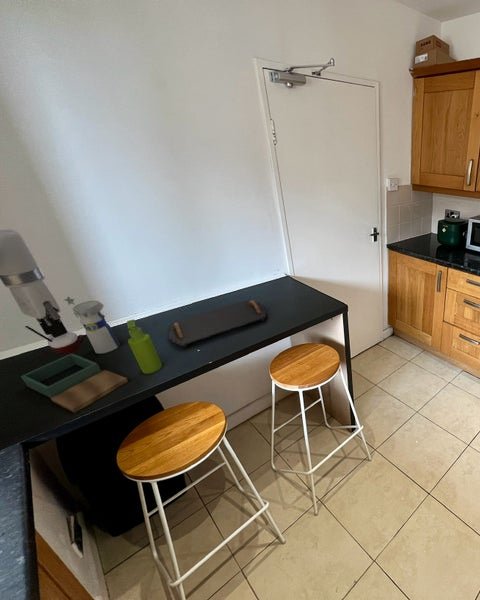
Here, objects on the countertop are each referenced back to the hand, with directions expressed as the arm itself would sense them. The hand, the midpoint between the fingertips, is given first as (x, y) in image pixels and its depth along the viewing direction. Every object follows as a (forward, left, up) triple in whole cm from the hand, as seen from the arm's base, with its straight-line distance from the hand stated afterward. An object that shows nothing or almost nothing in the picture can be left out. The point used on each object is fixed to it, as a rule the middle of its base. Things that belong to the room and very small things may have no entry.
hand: (56, 333), depth 93 cm
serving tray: (+46, -5, -23) cm, 52 cm away
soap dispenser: (+15, -7, -23) cm, 28 cm away
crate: (0, +15, -23) cm, 27 cm away
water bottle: (+17, +23, -23) cm, 37 cm away
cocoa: (0, 0, -7) cm, 7 cm away
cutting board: (0, 0, -23) cm, 23 cm away
